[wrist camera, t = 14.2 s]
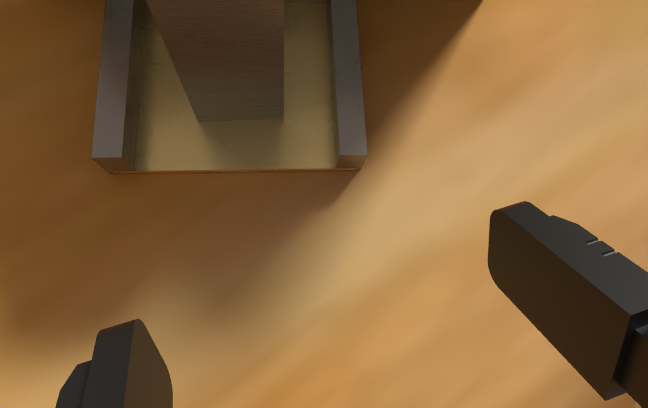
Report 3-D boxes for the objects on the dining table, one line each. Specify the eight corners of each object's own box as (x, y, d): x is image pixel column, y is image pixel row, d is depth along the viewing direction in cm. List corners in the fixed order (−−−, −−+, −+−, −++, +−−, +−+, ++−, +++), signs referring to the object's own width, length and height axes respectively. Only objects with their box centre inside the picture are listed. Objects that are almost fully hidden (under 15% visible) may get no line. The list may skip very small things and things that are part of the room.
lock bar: (283, 41, 22) (283, -175, 13) (288, 122, 21) (292, -47, 11) (193, 43, 22) (120, -181, 12) (193, 125, 21) (114, -48, 11)
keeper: (347, -8, 24) (356, -54, 21) (359, 170, 21) (371, 145, 18) (124, -14, 22) (101, -63, 20) (109, 173, 20) (80, 148, 17)
